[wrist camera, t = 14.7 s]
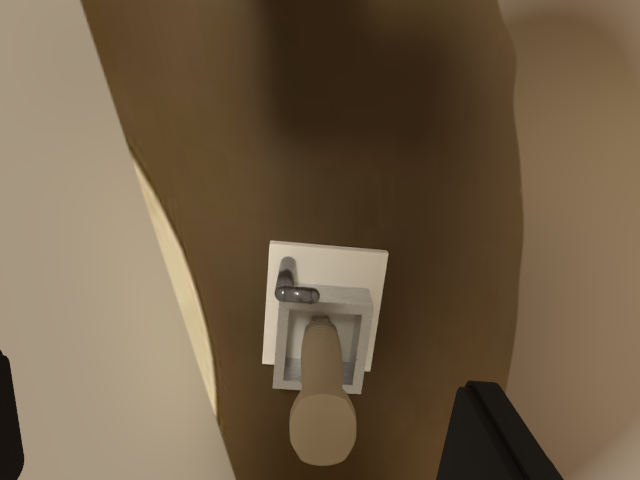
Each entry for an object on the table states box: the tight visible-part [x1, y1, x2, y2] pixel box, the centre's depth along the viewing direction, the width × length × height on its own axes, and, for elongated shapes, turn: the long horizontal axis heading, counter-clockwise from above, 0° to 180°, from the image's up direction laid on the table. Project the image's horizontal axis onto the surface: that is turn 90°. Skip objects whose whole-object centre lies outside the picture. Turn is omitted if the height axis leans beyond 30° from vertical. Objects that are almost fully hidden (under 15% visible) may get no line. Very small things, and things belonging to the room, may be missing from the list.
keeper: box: [262, 241, 388, 394], centre depth 41 cm, size 14×12×9 cm
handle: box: [290, 315, 356, 466], centre depth 37 cm, size 5×6×15 cm
